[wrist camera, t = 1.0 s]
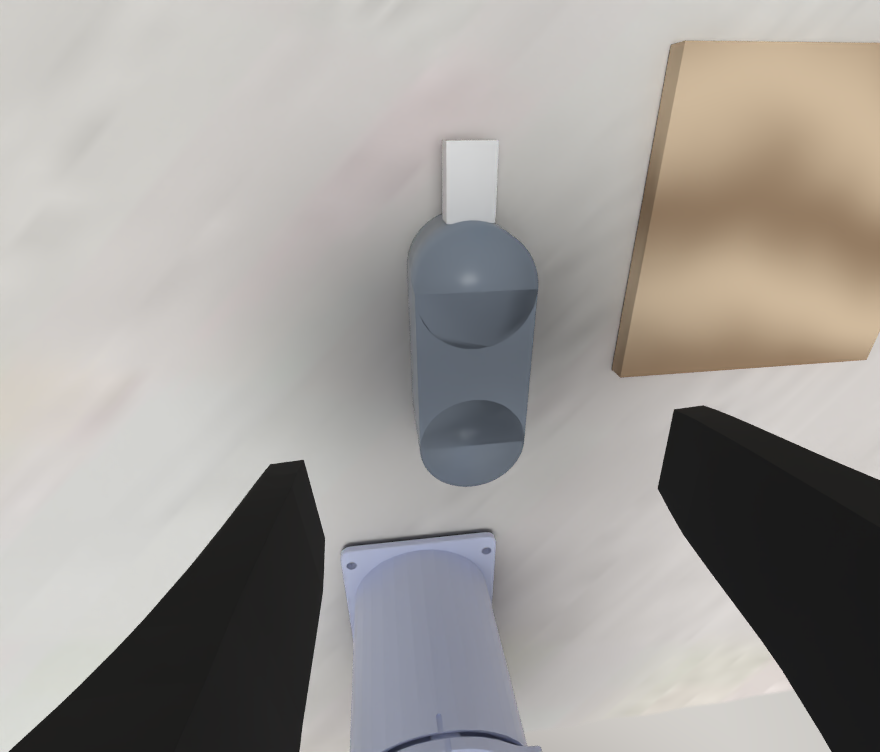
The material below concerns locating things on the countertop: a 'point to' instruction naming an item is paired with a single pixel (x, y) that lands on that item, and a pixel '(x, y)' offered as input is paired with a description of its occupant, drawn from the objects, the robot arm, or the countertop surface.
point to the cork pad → (758, 211)
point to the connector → (470, 325)
